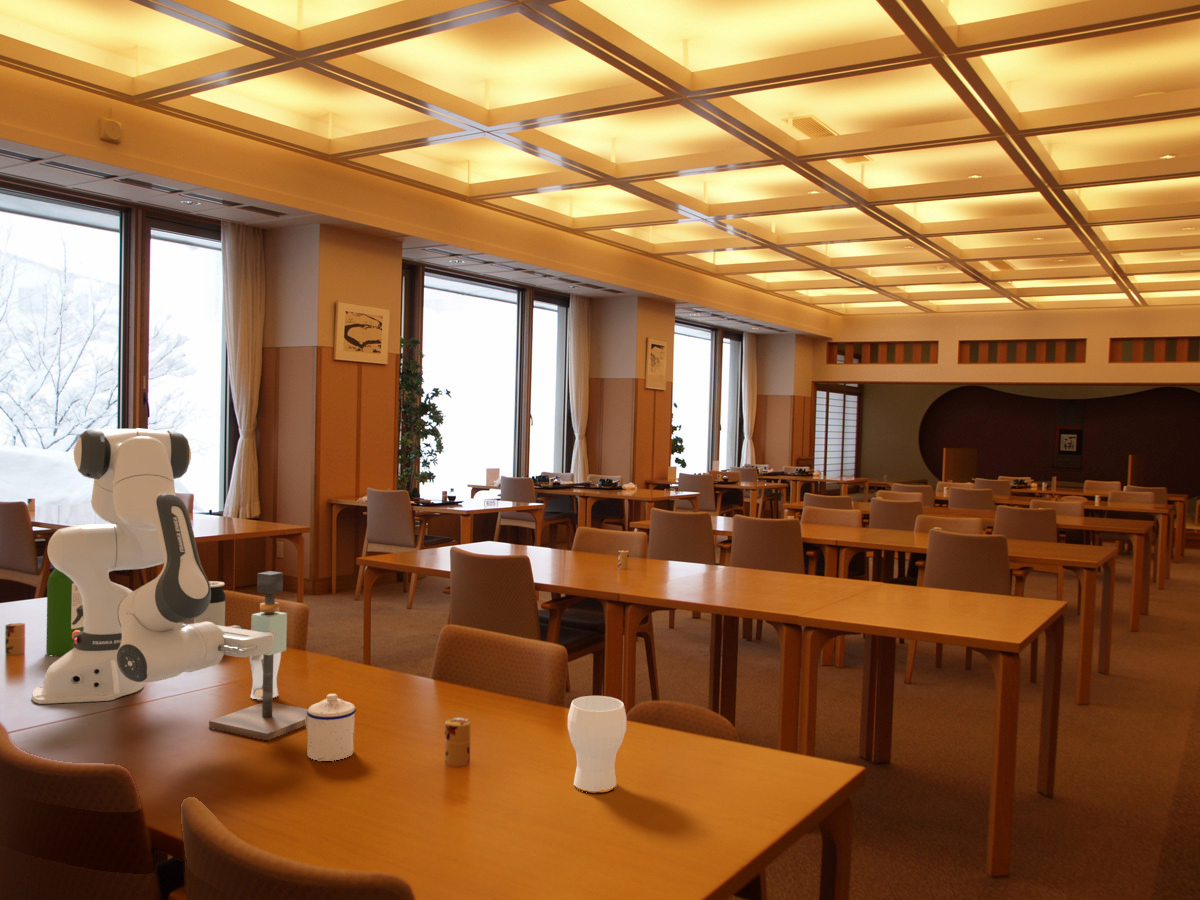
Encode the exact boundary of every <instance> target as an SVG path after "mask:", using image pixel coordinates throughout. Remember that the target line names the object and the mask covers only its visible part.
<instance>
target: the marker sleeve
mask: <svg viewBox="0 0 1200 900" xmlns="http://www.w3.org/2000/svg"><path fill="white" fill-rule="evenodd" d="M250 623H251V624H250V625H251V626H250V627H251V628H250V630H252V631H259V632H265V631H275V632H276V638H275V640H274V646H273V650H272V651H271V652H270V653H266V654H263V655H272V654H276V653H279V652H281V653H282V652H286V651H287V633H288V630H287V629H288V612H283V611H282V612H281V611H277V612H274V615H270V616H269V615H264V612H260V611H259V612H257V613H252V614H251V621H250Z"/></svg>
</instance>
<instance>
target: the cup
mask: <svg viewBox="0 0 1200 900" xmlns="http://www.w3.org/2000/svg"><path fill="white" fill-rule="evenodd" d="M569 706H570V707H569V710H568V714H567V731H568V735H569V739H570V742H571V744H572V746H573V748H574V751H575V755H576V756H575V757H576V769H575V774H574V779H573V786H574V785H575V786H576V787H578V788H581V789H583V790H588V791H601V790H607V789H610V788H613V787H614V786H615V785H616V786H617V777H616V771H615V770H616V769H615V768H616V767H615V765H616V758H617V753H618V751H619V749H620V747H621V745H622V744H623V742H624V737H625V734H626V731H627V719H628V718H627V714H626V709H625V708H626V707H625V705H624V702H623V701H621V700H620V699H618V698H615V697H612V696H606V695H605V696H604V695H588V696H587V695H586V696H579V697H577V698H574V699H572V701H571V704H570V705H569Z"/></svg>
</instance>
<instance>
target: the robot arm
mask: <svg viewBox="0 0 1200 900" xmlns="http://www.w3.org/2000/svg"><path fill="white" fill-rule="evenodd" d="M191 459H192V450H191V447H190V444H189V441H188V438H187V437H186V436H185V435H184V434H183V433H180V432H177V431H172V430H167V431H163V430H156V429H149V428H139V427H138V428H137V427H135V428H113V429H112V428H110V429H102V428H101V427H100V428H93V429H86V430H84V431H83V432H82V433H81V434H80V435H79V436H78V439H77V441H76V442H75V445H74V447H73V460H74V463H75V466H76V467H77V471H78V472H79V473H80V474H81V475H82V476H83V477H85V478H89V479H93V487H92V493H91V494H92V495H91V501H90V502H91V508H92V510H93V511H94V512H95V514H96V515H97V516H98V517H99V518H100V519H102V520H104V521H106V522H107V523H92V524H91V523H89V524H85V523H84V524H77V525H72V526H67V527H62V528H59V529H56V531H55V532H54V533H53V534H52V536H51V537H50V538H49V540H48V545H47V549H46V550H47V557H48V559H49V562H50V564H51V565H52V566H53V567H54V569H55V568H56V569H57V570H59V571H61V572H62V573H64V574H65V575H67V576H68V577H69V578H70V579H71V580H72V581H73V582H74V583H75V585H76V586H77V588H78V590H79V592H80V594H81V598H82V603H83V616H84V630H83V631H81V632H80V630H75V631H74V632H73V633H72V638H73V647H74V648H73V649H72V650H70V651H69V652H68V653H66V654H65V655H64V656H60V657H58V659H57V660H56V661H53V663H52V664H51V665H49V667H48V668H47V670H46V673H45V675H44V679H43V684H40V685H39V686H37V687H35V688H34V689H33V692H32V693H31V695H32V696H31V700H32V702H34V703H35V704H39V705H41V704H42V705H45V704H48V705H49V704H62V703H65V704H67V703H68V704H69V703H84V702H85V703H87V702H88V703H89V702H105V701H107V702H109V701H113V700H115V699H119V698H121V697H123V696H127V695H130V694H133V693H134V694H135V693H137V692H139V691H140V690H142V689H144V683H153V682H159V681H165V680H168V679H173V678H175V677H178V676H180V675H181V674H183V673H193V672H197V671H201V670H204V669H208V668H212V667H215V666H217V665H218V664H219V663H220V662H221V661H222V659H223V657H224V656H231V657H235V658H250V657H251V656H256V655H261V654H266V653H270V652H271V651H272V650H273V646H274V640H275V638H276V632H275V631H265V632H259V631H252V630H251V629H244V628H242V626H241V625H237V624H236V625H229V626H226V625H225V626H219V625H215V624H214V623H212V622H201V623H194V622H193V623H185V622H188V621H190V620H194V618H195V617H197V616H200V615H201V614H203V613H204V612H205V611H206V609H207V608H208V606H209V603H210V600H211V587H210V584H209V579H208V577H207V575H206V572H205V570H204V569H203V566H202V563H201V559H200V555H199V551H198V546H197V542H196V537H195V534H194V533H195V532H194V530H193V525H192V522H191V517H190V513H189V511H188V508H187V506H186V504H185V502H184V501H183V500H182V499H181V498H180V497H179V496H177V494H176V489H175V488H176V487H175V480H176V479H178V478H179V479H180V478H181V477H183V476H184V475H185V474H186V473H187V471H188V469H189V466H190V463H191ZM159 565H163V567H162V570H161V571H160V573H159V574H158V575H157V576H156V577H155V578H154V579H151V580H150V581H149V582H146V583H145V584H143V585H141V586H140V587H138V588H136V589H135V590H132V589H130V588H128V587H126V586H124V585H122V584H118V583H116V582H113V581H111V578H110V575H109V574H110V572H113V571H124V570H125V571H127V570H128V571H129V570H140V569H141V570H142V569H143V570H144V569H147V568H151V567H152V568H153V567H156V566H159Z"/></svg>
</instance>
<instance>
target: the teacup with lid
mask: <svg viewBox="0 0 1200 900" xmlns="http://www.w3.org/2000/svg"><path fill="white" fill-rule="evenodd" d="M356 712H357V709H356V706H355V705H354V703H351V702H349V701H346V700H343V699H341V698H339V697H338V695H337V694H336V693H328V694H327V695H326V698H325V699H323V700H321V701H319V702H317V703H314V704H311V705H310V706H309V707H308V711H307V715H306V718H305V724H306V726H305V729H306V732H307V744H306V745H307V746H306V747H307V749H306V751H307V752H306V753H307V754H306V755H307V757H308V758H309V759H310V758H311V759H310V760H312V759H313V760H312V761H315V760H317V761H316V762H321V761H332V762H337V761H336V760H339V761H341V760H340V759H343V760H345V759H344V758H346V759H348V758H349V756H350V757H351V756H352V755H353V754H354V750H355V749H354V747H355V745H354V744H355V713H356ZM347 757H348V758H347ZM334 760H335V761H334Z"/></svg>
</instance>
